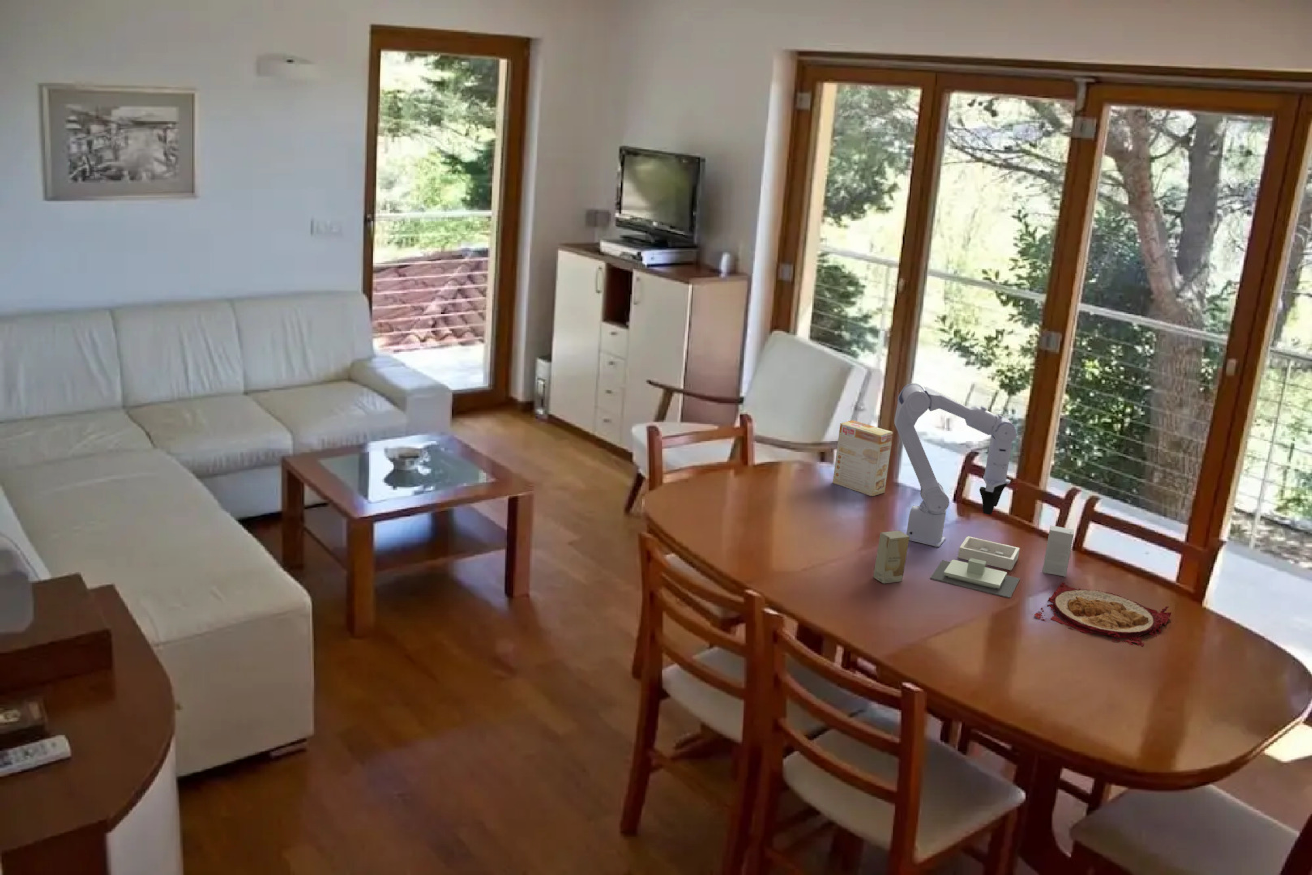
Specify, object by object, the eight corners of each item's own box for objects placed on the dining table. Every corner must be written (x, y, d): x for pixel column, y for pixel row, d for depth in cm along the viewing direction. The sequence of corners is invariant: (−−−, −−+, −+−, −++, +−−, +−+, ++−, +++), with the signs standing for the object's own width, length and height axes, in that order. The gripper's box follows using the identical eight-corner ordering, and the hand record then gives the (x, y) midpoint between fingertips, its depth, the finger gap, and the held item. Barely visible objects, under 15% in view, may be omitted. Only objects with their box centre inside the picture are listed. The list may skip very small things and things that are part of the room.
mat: (930, 578, 306) (930, 577, 306) (942, 561, 318) (942, 560, 318) (1010, 598, 298) (1010, 597, 298) (1019, 579, 310) (1019, 578, 310)
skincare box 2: (1066, 571, 318) (1074, 529, 315) (1065, 577, 315) (1074, 534, 311) (1042, 566, 320) (1050, 524, 317) (1041, 572, 316) (1049, 529, 313)
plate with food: (1060, 589, 309) (1063, 576, 308) (1170, 618, 295) (1172, 604, 294) (1031, 622, 289) (1034, 608, 288) (1147, 654, 275) (1150, 640, 274)
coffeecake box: (885, 492, 369) (894, 431, 363) (872, 497, 364) (880, 435, 358) (845, 479, 378) (853, 419, 373) (831, 483, 373) (839, 422, 368)
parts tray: (957, 557, 322) (959, 547, 321) (965, 546, 330) (967, 536, 329) (1011, 570, 316) (1013, 559, 315) (1017, 558, 325) (1019, 547, 324)
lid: (942, 577, 307) (945, 560, 305) (951, 565, 315) (954, 548, 314) (998, 591, 301) (1001, 574, 300) (1006, 578, 310) (1008, 561, 309)
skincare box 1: (883, 584, 300) (889, 538, 297) (872, 577, 304) (879, 532, 300) (903, 581, 303) (910, 535, 300) (892, 574, 307) (899, 529, 303)
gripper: (1008, 472, 317) (999, 520, 321) (1017, 458, 330) (1009, 505, 334) (980, 466, 320) (973, 514, 324) (991, 453, 333) (983, 499, 337)
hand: (989, 509), depth 329 cm, fingers open, 7 cm apart
